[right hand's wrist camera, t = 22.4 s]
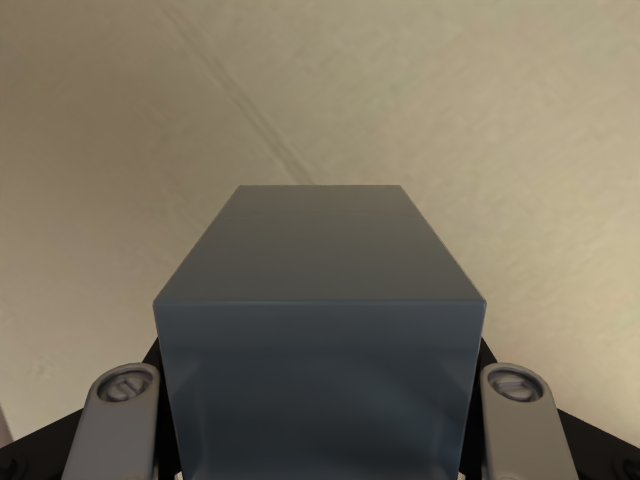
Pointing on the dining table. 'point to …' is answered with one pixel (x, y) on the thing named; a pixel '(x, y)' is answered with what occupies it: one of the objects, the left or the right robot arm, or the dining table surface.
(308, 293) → the block
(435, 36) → the dining table surface
